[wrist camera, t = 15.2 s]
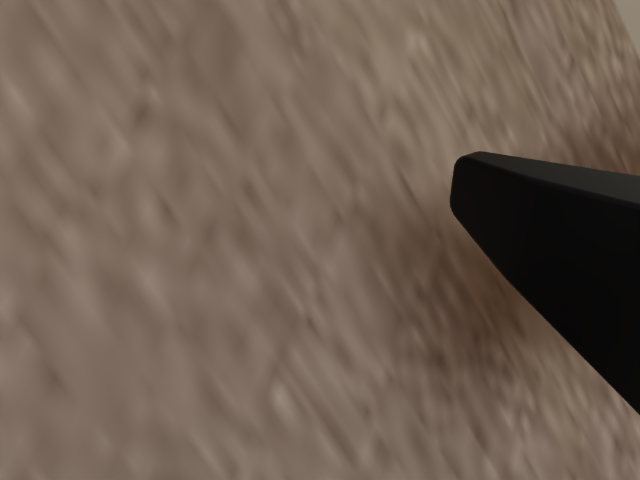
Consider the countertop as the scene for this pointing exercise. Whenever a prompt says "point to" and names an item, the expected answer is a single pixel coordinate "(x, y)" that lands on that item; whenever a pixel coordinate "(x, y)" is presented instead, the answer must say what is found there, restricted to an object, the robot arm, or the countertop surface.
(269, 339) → the countertop surface
